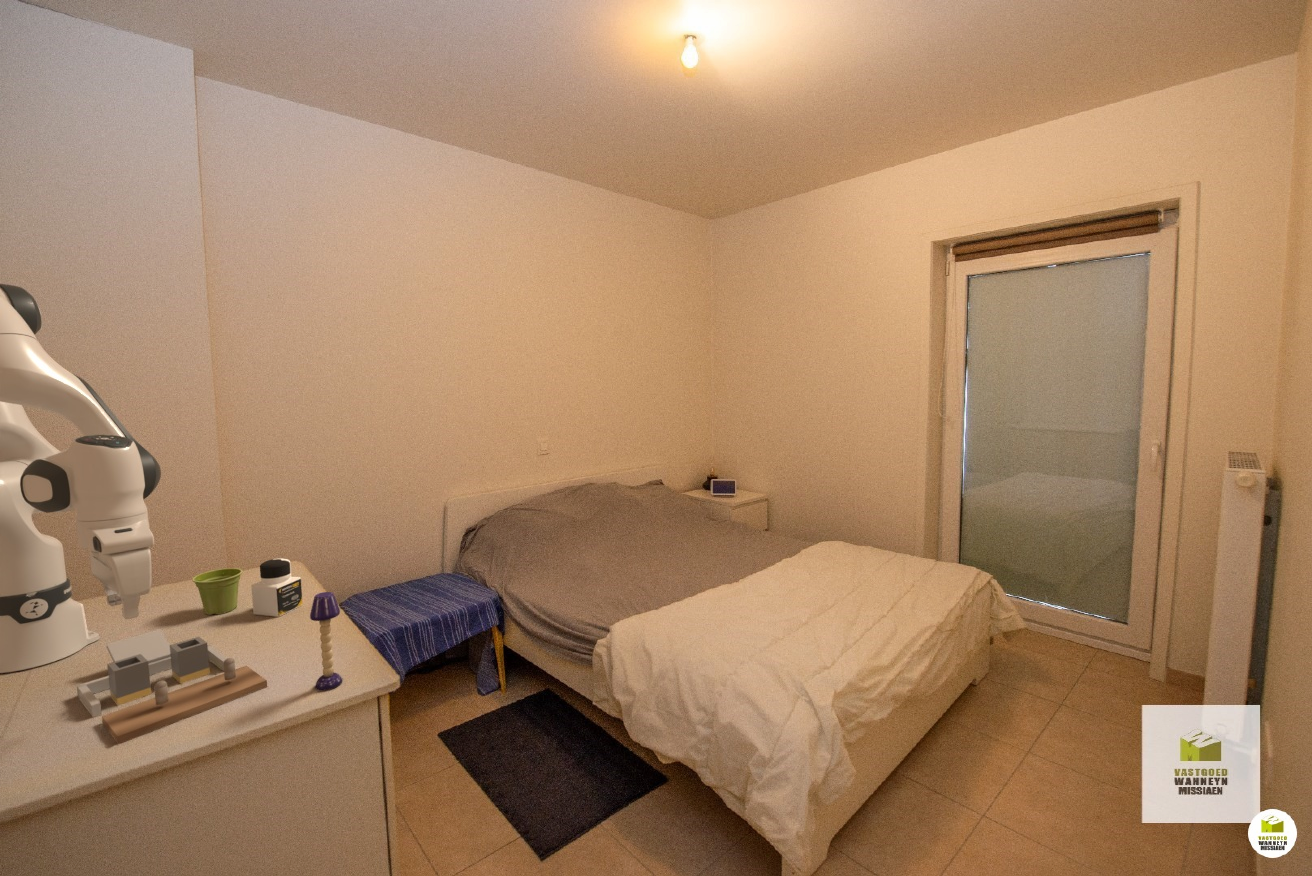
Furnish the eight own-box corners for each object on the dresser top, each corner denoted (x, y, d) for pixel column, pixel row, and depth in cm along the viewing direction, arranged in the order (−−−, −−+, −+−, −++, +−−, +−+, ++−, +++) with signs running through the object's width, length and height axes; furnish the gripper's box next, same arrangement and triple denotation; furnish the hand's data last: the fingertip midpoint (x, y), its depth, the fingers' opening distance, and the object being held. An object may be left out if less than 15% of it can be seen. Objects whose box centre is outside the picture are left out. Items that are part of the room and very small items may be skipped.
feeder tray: (68, 683, 105) (64, 654, 105) (196, 643, 120) (194, 619, 120) (93, 717, 95) (89, 685, 94) (230, 669, 110) (228, 642, 109)
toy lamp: (310, 683, 105) (304, 594, 103) (338, 674, 108) (333, 587, 107) (320, 693, 102) (313, 601, 100) (348, 683, 105) (343, 594, 103)
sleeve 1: (110, 696, 101) (107, 663, 100) (143, 685, 104) (140, 653, 104) (117, 705, 98) (114, 671, 98) (151, 693, 102) (148, 660, 101)
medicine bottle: (278, 617, 134) (275, 566, 132) (252, 614, 135) (248, 564, 134) (303, 605, 141) (300, 557, 139) (278, 603, 142) (274, 555, 141)
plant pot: (207, 621, 131) (204, 584, 130) (187, 613, 136) (184, 577, 135) (252, 607, 139) (250, 572, 139) (233, 599, 144) (230, 565, 143)
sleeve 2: (172, 676, 108) (169, 645, 107) (201, 666, 111) (198, 636, 110) (180, 683, 105) (177, 651, 104) (209, 673, 109) (207, 642, 108)
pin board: (102, 723, 93) (99, 689, 92) (246, 671, 109) (244, 643, 109) (118, 743, 88) (114, 708, 87) (267, 686, 104) (265, 656, 103)
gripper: (74, 526, 102) (83, 602, 103) (104, 546, 90) (114, 632, 91) (122, 519, 107) (129, 592, 108) (157, 537, 95) (165, 618, 96)
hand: (123, 610), depth 100 cm, fingers open, 8 cm apart
